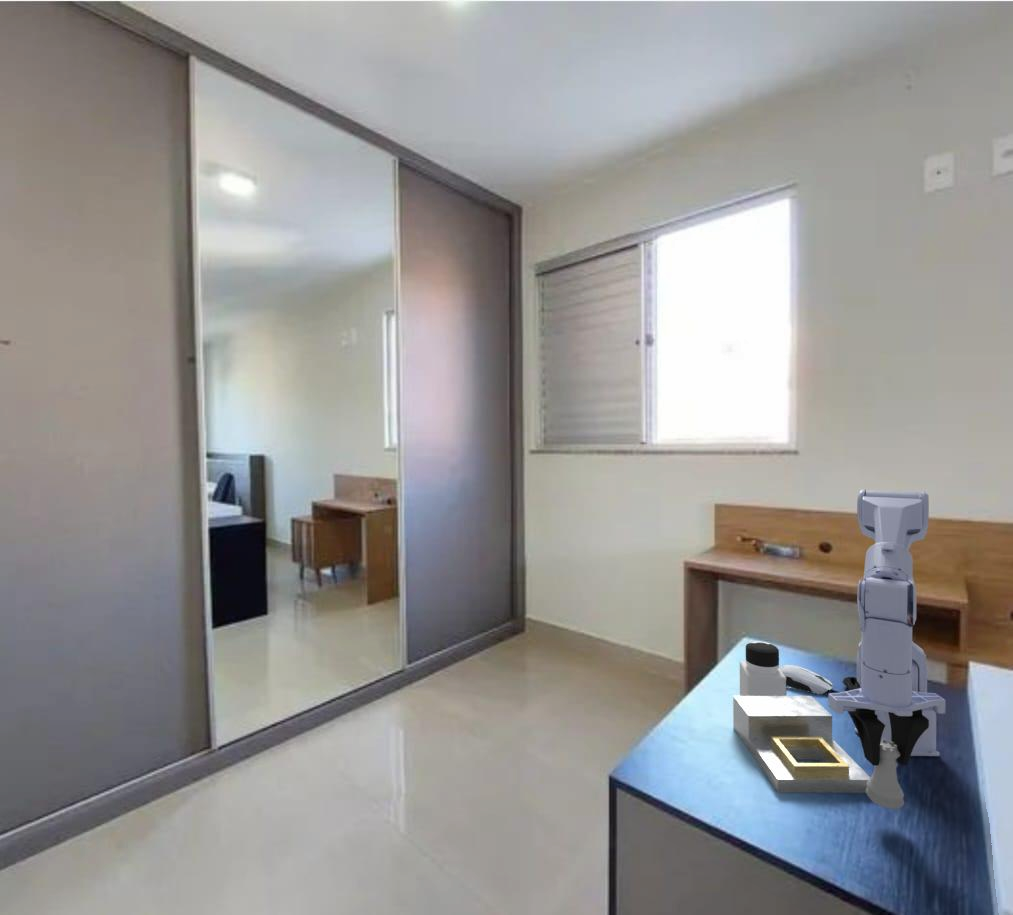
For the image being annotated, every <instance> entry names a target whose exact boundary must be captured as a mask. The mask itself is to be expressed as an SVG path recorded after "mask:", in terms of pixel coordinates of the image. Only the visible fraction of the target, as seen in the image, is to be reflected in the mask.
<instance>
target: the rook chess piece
mask: <svg viewBox="0 0 1013 915" xmlns="http://www.w3.org/2000/svg"><path fill="white" fill-rule="evenodd" d="M900 755H901V754H900V752H899V751H898V749H897V745H894V742H892V741H890V744H889V743H886V739H882V742H880V761H879V765H878V766H873V767H874V768H873V772H872V775H871V776H869V777H870V779H869V780H868V781H867V783H866V785H867V788H866V793H865V794H866V795H867V797H868V798H869V799H870V800H871V801H872V802H873V803H875V804H876V805H878V806H880V807H881V808H886V809H890V810H898V809H901V808H902V807H903V806H904V805H905V800H904V797H905V794H904V792H903V789H902V787H901V785H900V783H899V782H898V774H897V768H898V766H899V762H898V761H897V760H896V759H897V758H898V757H899V756H900Z"/></svg>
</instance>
